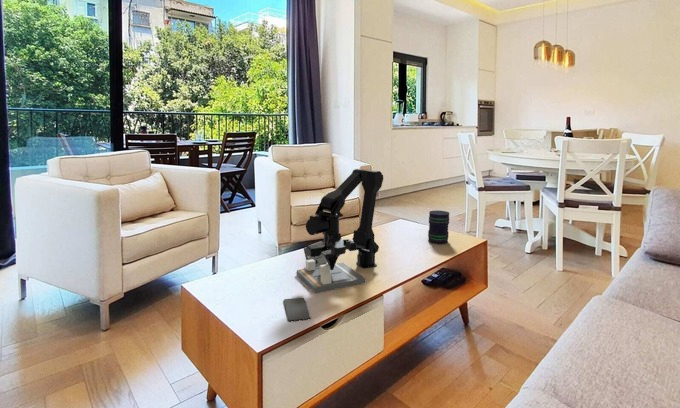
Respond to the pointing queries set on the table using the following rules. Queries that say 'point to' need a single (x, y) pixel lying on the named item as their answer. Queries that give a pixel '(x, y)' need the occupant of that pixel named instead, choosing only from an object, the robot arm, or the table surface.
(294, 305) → the smartphone
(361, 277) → the breaker panel
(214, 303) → the table surface
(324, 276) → the handle
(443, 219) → the storage jar
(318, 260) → the electrical switch
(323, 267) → the handle middle
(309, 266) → the handle
